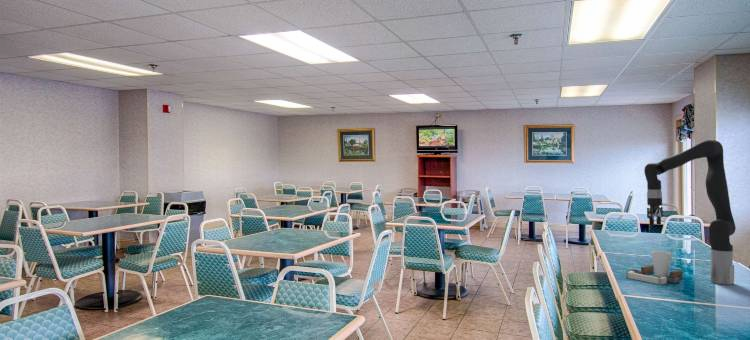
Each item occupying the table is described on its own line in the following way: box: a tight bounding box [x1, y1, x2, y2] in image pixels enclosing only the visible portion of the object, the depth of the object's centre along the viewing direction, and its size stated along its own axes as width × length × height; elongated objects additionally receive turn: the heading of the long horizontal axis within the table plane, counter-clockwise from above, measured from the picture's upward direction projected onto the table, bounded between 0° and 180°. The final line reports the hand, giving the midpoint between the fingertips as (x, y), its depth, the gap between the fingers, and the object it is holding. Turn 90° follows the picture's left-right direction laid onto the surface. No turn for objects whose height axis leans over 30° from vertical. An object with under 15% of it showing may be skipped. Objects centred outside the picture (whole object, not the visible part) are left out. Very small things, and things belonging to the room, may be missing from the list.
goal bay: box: [625, 271, 668, 285], centre depth 252 cm, size 18×6×3 cm, turn 34°
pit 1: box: [627, 268, 643, 275], centre depth 263 cm, size 6×6×2 cm
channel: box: [640, 264, 683, 279], centre depth 261 cm, size 17×10×4 cm, turn 34°
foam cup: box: [651, 250, 673, 278], centre depth 261 cm, size 10×9×13 cm
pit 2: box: [666, 275, 681, 285], centre depth 248 cm, size 6×6×2 cm
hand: (655, 224), depth 276 cm, fingers open, 8 cm apart
